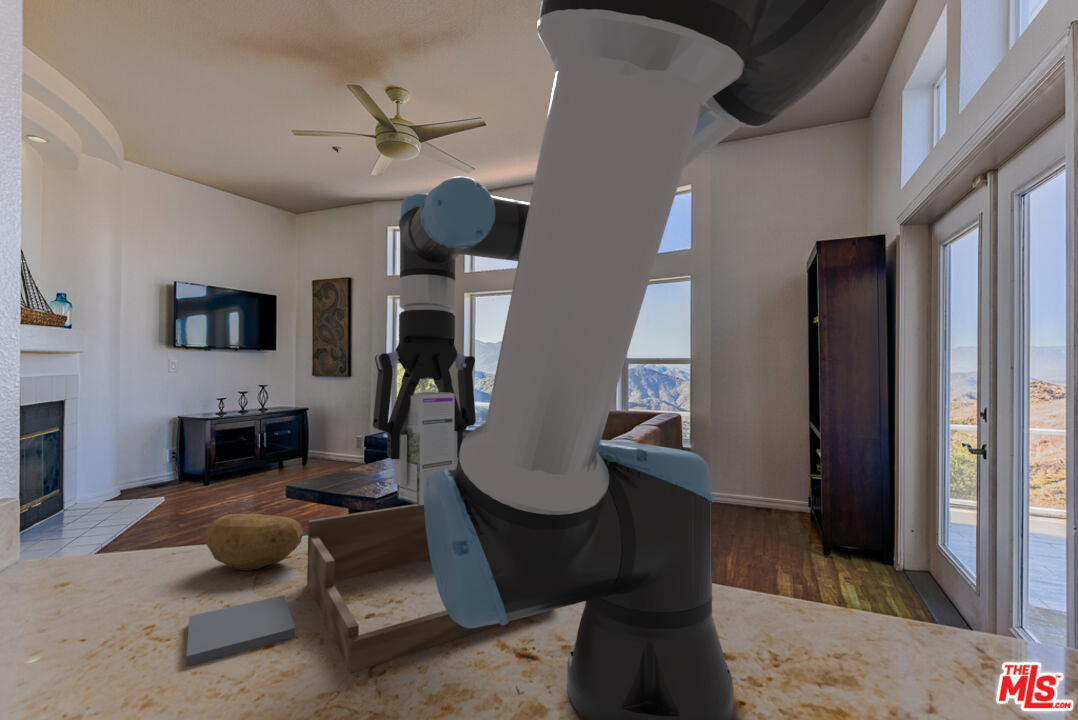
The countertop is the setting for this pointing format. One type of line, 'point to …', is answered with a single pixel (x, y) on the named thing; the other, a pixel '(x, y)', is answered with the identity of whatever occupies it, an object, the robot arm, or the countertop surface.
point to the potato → (252, 539)
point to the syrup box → (427, 441)
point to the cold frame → (366, 549)
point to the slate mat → (238, 629)
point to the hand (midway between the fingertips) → (426, 480)
